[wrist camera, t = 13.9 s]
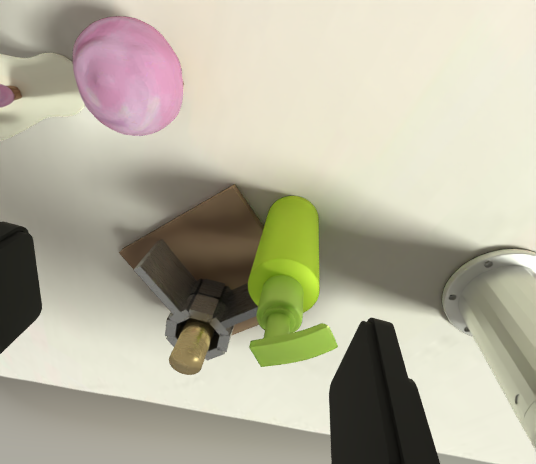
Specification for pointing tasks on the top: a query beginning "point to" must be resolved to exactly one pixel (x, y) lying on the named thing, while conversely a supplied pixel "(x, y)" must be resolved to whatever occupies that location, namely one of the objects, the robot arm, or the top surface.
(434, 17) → the top surface
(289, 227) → the soap dispenser
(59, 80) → the beer glass
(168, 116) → the cupcake
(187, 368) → the hinge pin
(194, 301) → the hinge
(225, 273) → the hinge base
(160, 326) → the top surface
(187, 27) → the top surface
